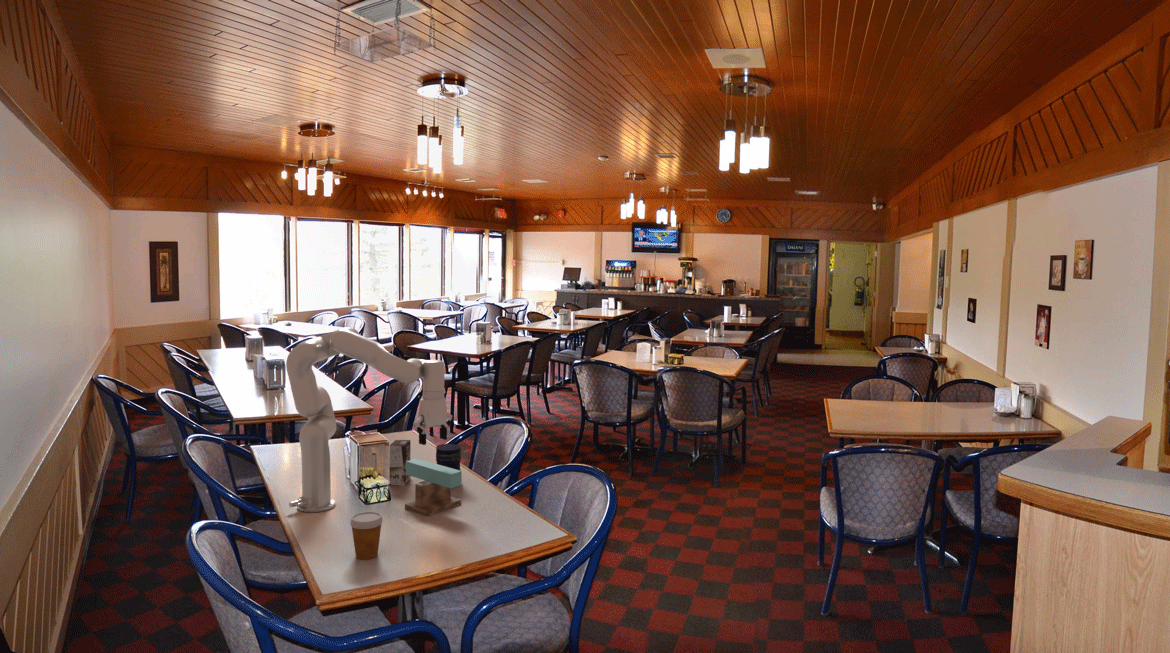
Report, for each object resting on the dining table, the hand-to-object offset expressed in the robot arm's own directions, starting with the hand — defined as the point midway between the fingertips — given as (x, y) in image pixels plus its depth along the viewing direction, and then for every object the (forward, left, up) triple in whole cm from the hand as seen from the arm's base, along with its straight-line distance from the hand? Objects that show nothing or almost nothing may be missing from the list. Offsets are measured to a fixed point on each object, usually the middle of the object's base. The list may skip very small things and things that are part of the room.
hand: (433, 441), depth 251 cm
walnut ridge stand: (0, 0, -24) cm, 24 cm away
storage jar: (+21, +15, -24) cm, 35 cm away
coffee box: (+10, +31, -24) cm, 40 cm away
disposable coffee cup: (-41, -17, -24) cm, 50 cm away
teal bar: (0, 0, -14) cm, 14 cm away
